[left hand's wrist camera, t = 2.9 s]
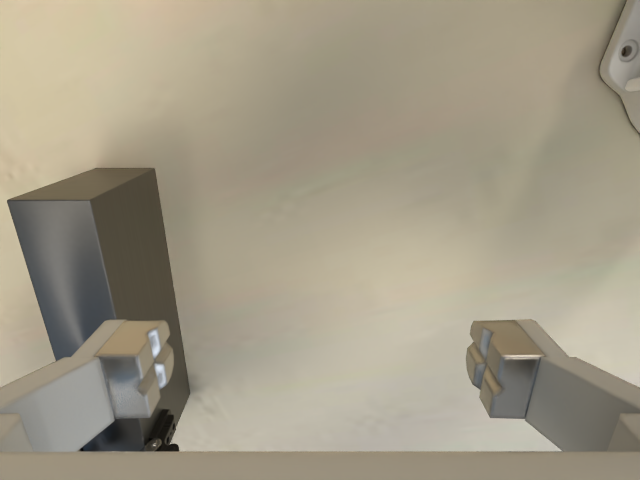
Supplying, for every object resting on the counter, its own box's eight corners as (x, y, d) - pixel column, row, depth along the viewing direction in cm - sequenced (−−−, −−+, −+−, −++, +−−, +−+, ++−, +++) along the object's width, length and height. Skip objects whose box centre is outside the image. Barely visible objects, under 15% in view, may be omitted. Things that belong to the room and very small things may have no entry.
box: (95, 168, 37) (5, 200, 27) (155, 168, 37) (89, 199, 26) (143, 393, 47) (92, 481, 37) (190, 393, 47) (153, 481, 37)
